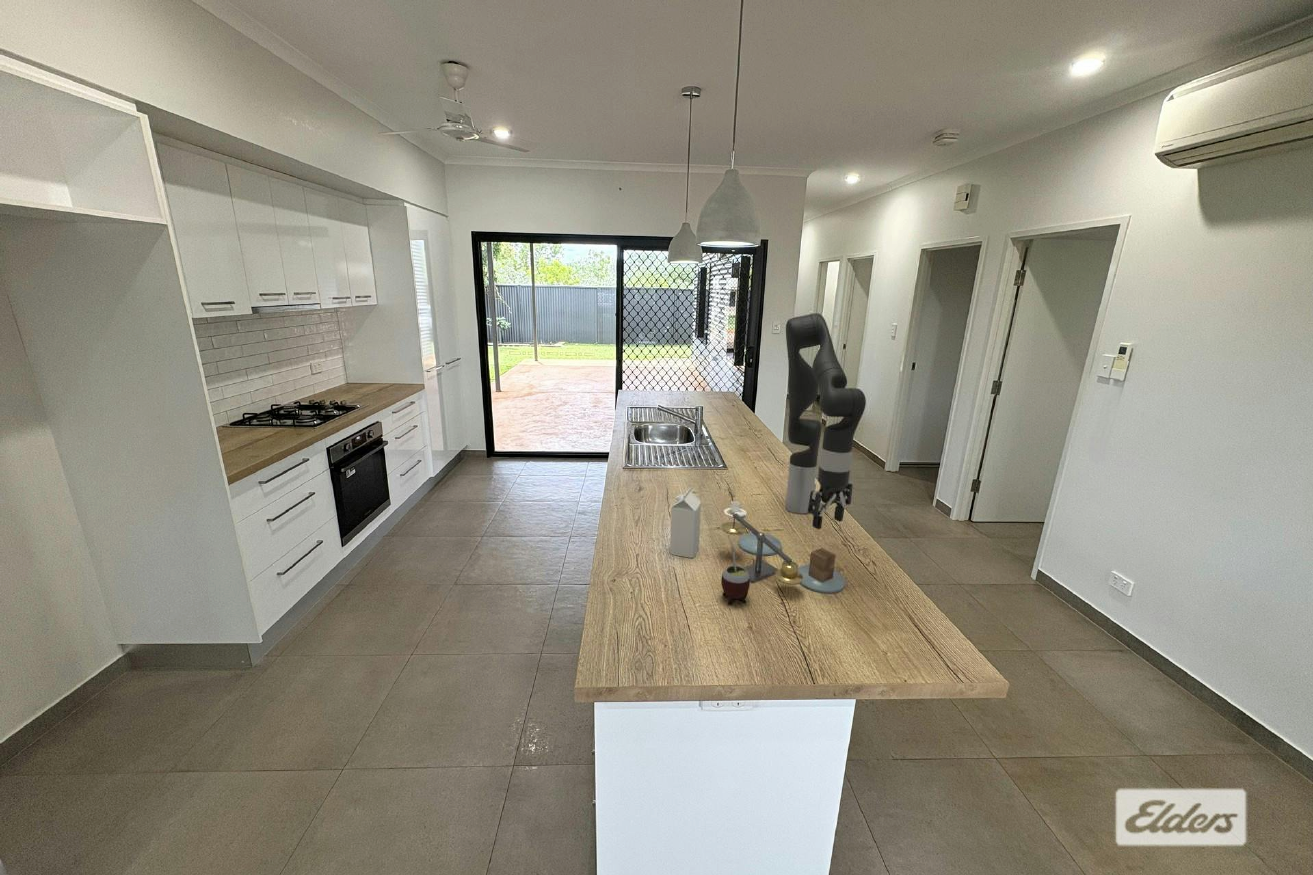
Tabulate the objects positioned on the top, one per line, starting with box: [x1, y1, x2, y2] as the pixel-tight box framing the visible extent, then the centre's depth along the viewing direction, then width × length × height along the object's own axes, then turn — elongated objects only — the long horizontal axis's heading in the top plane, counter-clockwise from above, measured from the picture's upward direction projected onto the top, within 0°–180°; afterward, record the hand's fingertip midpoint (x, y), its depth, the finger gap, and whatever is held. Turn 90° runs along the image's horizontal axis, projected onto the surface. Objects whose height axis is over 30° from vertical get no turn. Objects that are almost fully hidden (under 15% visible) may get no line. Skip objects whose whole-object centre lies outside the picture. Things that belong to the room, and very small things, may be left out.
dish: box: [798, 564, 847, 595], centre depth 138 cm, size 13×13×1 cm
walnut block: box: [808, 547, 837, 583], centre depth 137 cm, size 4×4×7 cm
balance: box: [720, 513, 803, 586], centre depth 139 cm, size 10×28×14 cm, turn 33°
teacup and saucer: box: [723, 500, 748, 518], centre depth 180 cm, size 9×8×4 cm
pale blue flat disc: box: [737, 532, 782, 557], centre depth 157 cm, size 13×13×1 cm
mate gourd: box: [720, 534, 751, 606], centre depth 127 cm, size 8×8×15 cm
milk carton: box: [669, 487, 702, 559], centre depth 150 cm, size 7×7×19 cm
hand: (827, 524), depth 134 cm, fingers open, 8 cm apart
